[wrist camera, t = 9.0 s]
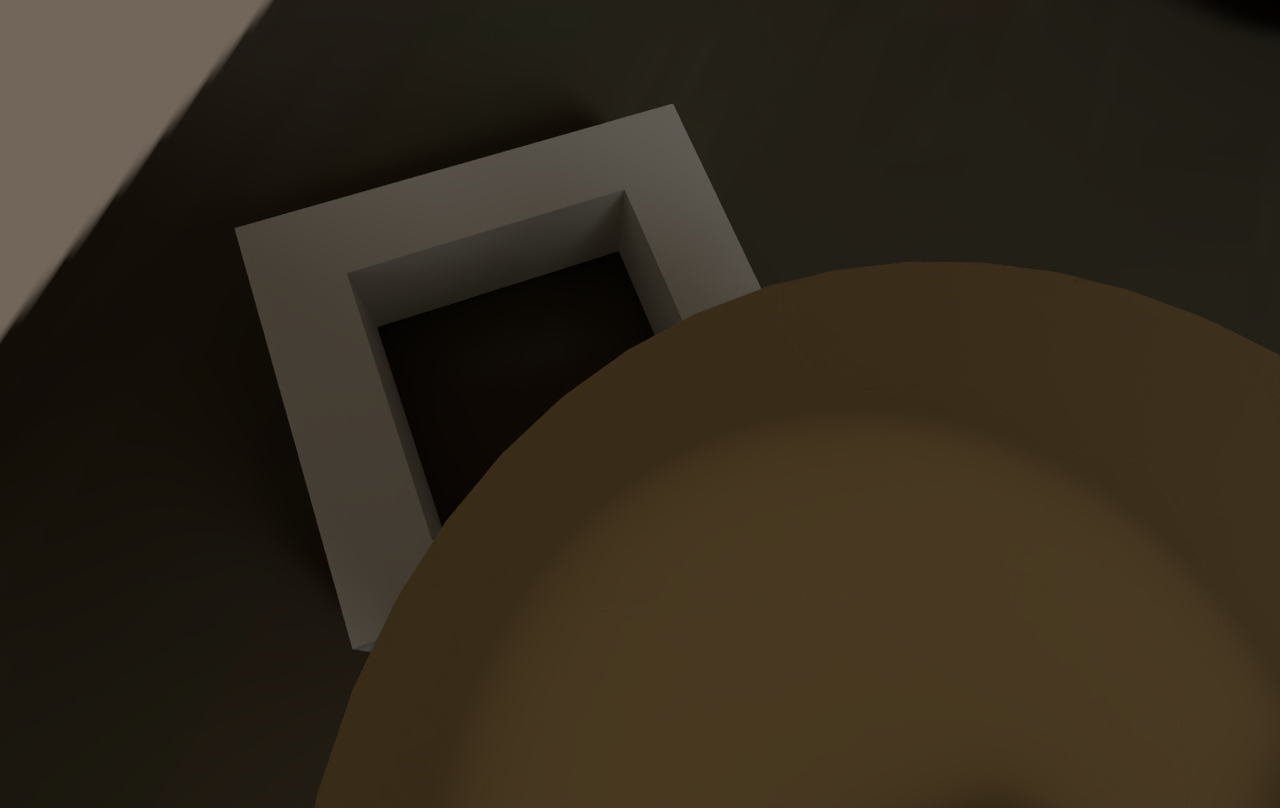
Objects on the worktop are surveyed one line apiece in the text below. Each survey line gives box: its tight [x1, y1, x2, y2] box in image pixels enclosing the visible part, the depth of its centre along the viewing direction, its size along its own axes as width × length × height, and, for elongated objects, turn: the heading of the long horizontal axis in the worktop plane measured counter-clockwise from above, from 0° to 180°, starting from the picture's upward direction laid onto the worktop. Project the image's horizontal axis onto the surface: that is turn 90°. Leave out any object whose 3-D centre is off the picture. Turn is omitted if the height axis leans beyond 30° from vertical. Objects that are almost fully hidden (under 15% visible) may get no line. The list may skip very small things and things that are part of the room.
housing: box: [235, 104, 761, 652], centre depth 17 cm, size 8×9×2 cm
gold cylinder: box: [315, 262, 1280, 808], centre depth 9 cm, size 5×5×13 cm
